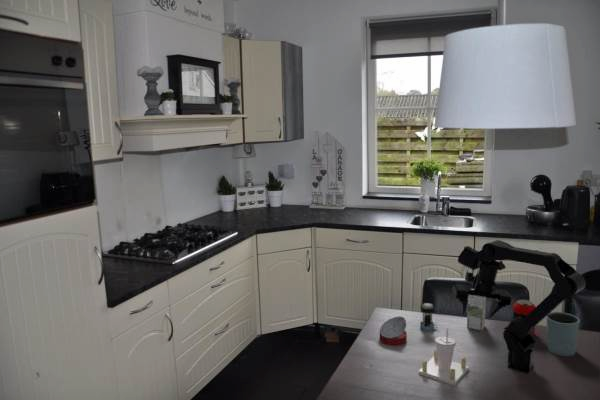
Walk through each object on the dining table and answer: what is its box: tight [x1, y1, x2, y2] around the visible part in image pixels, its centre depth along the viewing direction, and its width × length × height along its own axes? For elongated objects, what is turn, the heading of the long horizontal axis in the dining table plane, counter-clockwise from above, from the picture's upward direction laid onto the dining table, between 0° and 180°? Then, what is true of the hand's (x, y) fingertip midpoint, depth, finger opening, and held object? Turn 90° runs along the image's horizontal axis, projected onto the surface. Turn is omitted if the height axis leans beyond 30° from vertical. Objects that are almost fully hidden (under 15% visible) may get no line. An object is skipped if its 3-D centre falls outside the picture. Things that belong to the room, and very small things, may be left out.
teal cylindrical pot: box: [545, 311, 580, 357], centre depth 173 cm, size 10×10×12 cm
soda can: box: [512, 299, 537, 337], centre depth 187 cm, size 8×8×12 cm
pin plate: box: [418, 349, 470, 386], centre depth 162 cm, size 12×12×4 cm
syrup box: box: [466, 288, 487, 332], centre depth 193 cm, size 6×6×14 cm
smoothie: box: [434, 327, 457, 371], centre depth 161 cm, size 6×6×14 cm
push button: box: [419, 302, 438, 331], centre depth 192 cm, size 7×5×10 cm
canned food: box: [379, 316, 408, 347], centre depth 185 cm, size 11×10×10 cm
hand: (475, 315), depth 174 cm, fingers open, 9 cm apart
